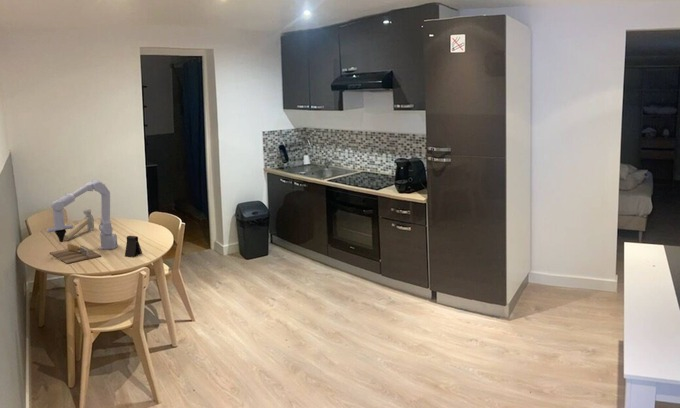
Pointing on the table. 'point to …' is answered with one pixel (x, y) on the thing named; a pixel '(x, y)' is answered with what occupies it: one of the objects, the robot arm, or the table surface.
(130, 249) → the phone stand
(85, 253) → the strip
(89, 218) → the hammer
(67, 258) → the walnut board
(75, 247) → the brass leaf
